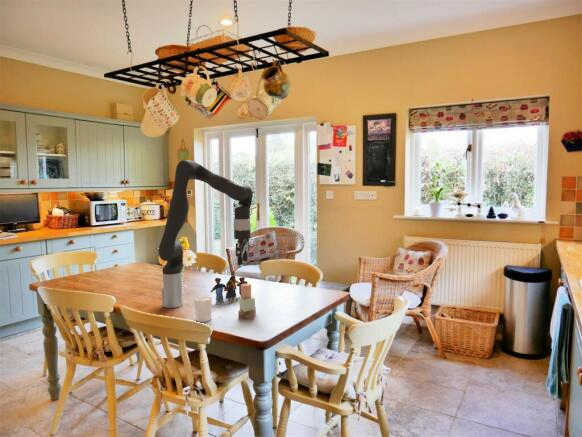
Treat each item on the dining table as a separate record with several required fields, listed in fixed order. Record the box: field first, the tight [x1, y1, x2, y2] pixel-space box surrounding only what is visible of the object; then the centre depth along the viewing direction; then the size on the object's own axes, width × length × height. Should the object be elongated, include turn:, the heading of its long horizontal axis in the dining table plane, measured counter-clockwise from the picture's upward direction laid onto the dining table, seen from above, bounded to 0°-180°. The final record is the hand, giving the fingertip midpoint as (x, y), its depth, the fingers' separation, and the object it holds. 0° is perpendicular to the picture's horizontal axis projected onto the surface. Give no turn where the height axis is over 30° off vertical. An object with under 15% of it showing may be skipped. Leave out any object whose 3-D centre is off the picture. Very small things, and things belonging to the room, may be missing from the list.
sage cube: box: [238, 295, 256, 312], centre depth 194 cm, size 6×6×6 cm
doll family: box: [210, 275, 248, 305], centre depth 221 cm, size 23×9×13 cm, turn 152°
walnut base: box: [238, 306, 257, 320], centre depth 195 cm, size 7×7×4 cm
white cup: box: [193, 295, 213, 323], centre depth 192 cm, size 8×8×10 cm
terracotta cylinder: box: [240, 283, 252, 299], centre depth 194 cm, size 5×5×6 cm
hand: (242, 262), depth 194 cm, fingers open, 8 cm apart
